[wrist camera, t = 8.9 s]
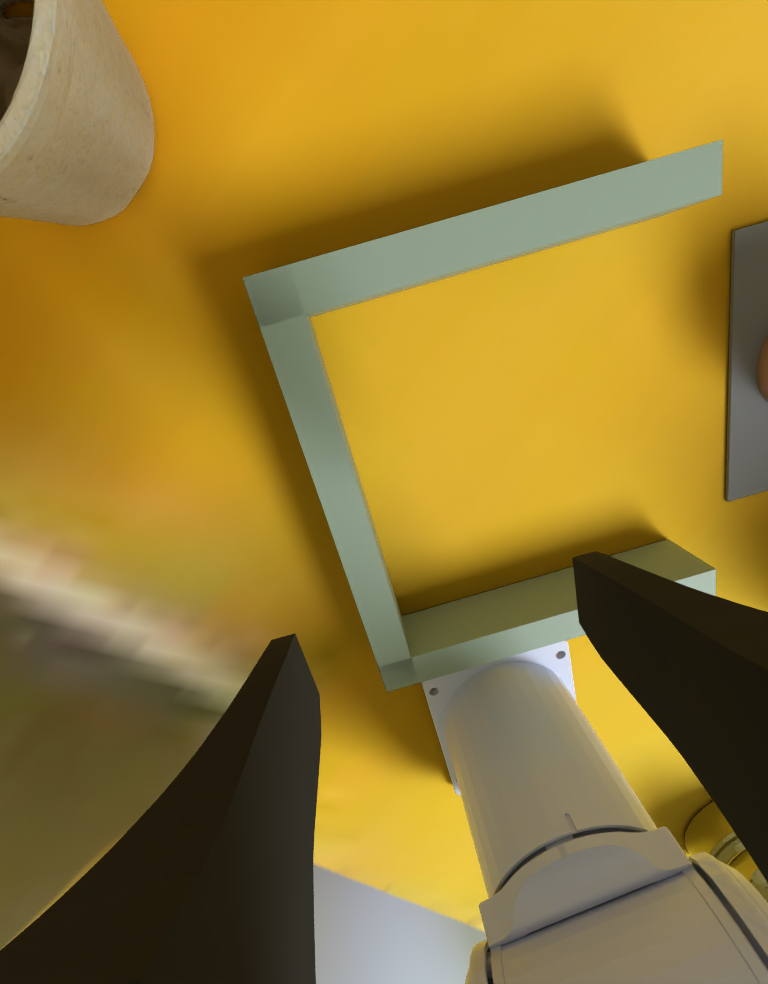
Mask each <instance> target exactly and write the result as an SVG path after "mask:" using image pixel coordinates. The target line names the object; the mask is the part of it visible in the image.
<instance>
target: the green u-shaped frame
mask: <svg viewBox="0 0 768 984" xmlns="http://www.w3.org/2000/svg"><path fill="white" fill-rule="evenodd" d="M722 161H723V140H719V141H716V142H712V143H709V144H705V145H702V146H698V147H695V148H692V149H688V150H685V151H681V152H678V153H674V154H671V155H667V156H664V157H660V158H657V159H653V160H650V161H646V162H643V163H639V164H636V165H632V166H629V167H625V168H622V169H619V170H615V171H612V172H608V173H605V174H601V175H598V176H594V177H591V178H587V179H584V180H580V181H577V182H573V183H570V184H566V185H563V186H559V187H556V188H553V189H549V190H546V191H542V192H539V193H535V194H532V195H528V196H525V197H521V198H518V199H514V200H511V201H507V202H504V203H500V204H497V205H493V206H490V207H486V208H483V209H480V210H476V211H473V212H469V213H466V214H462V215H459V216H455V217H452V218H448V219H445V220H441V221H438V222H434V223H431V224H427V225H424V226H420V227H417V228H414V229H410V230H407V231H403V232H400V233H396V234H393V235H389V236H386V237H382V238H379V239H375V240H372V241H368V242H365V243H361V244H358V245H354V246H351V247H347V248H344V249H341V250H337V251H334V252H330V253H327V254H323V255H320V256H316V257H313V258H309V259H306V260H302V261H299V262H295V263H292V264H288V265H285V266H281V267H278V268H274V269H271V270H268V271H264V272H261V273H257V274H254V275H250V276H247V277H243V281H244V284H245V287H246V290H247V293H248V296H249V298H250V301H251V304H252V307H253V310H254V313H255V316H256V318H257V321H258V324H259V327H260V330H261V333H262V336H263V338H264V341H265V344H266V347H267V350H268V353H269V356H270V358H271V361H272V364H273V367H274V370H275V373H276V376H277V379H278V381H279V384H280V387H281V390H282V393H283V396H284V399H285V401H286V404H287V407H288V410H289V413H290V416H291V419H292V421H293V424H294V427H295V430H296V433H297V436H298V439H299V442H300V444H301V447H302V450H303V453H304V456H305V459H306V462H307V464H308V467H309V470H310V473H311V476H312V479H313V482H314V484H315V487H316V490H317V493H318V496H319V499H320V502H321V505H322V507H323V510H324V513H325V516H326V519H327V522H328V525H329V527H330V530H331V533H332V536H333V539H334V542H335V545H336V547H337V550H338V553H339V556H340V559H341V562H342V565H343V568H344V570H345V573H346V576H347V579H348V582H349V585H350V588H351V590H352V593H353V596H354V599H355V602H356V605H357V608H358V610H359V613H360V616H361V619H362V622H363V625H364V628H365V631H366V633H367V636H368V639H369V642H370V645H371V648H372V651H373V653H374V656H375V659H376V662H377V665H378V668H379V671H380V673H381V676H382V679H383V682H384V685H385V688H386V691H387V692H390V691H393V690H397V689H400V688H403V687H407V686H410V685H414V684H417V683H421V682H424V681H428V680H431V679H434V678H438V677H441V676H445V675H448V674H452V673H455V672H459V671H462V670H465V669H469V668H472V667H476V666H479V665H483V664H486V663H490V662H493V661H496V660H500V659H503V658H507V657H510V656H514V655H517V654H521V653H524V652H527V651H531V650H534V649H538V648H541V647H545V646H548V645H552V644H555V643H558V642H562V641H565V640H569V639H572V638H576V637H579V636H583V635H586V633H585V632H584V630H583V628H582V627H581V625H580V624H579V618H578V608H577V599H576V589H575V579H574V569H573V567H570V568H566V569H563V570H560V571H556V572H553V573H549V574H546V575H542V576H539V577H535V578H532V579H529V580H525V581H522V582H518V583H515V584H511V585H508V586H504V587H501V588H498V589H494V590H491V591H487V592H484V593H480V594H477V595H473V596H470V597H466V598H463V599H460V600H456V601H453V602H449V603H446V604H442V605H439V606H435V607H432V608H429V609H425V610H422V611H418V612H415V613H411V614H408V615H404V616H401V613H400V610H399V606H398V603H397V600H396V597H395V593H394V590H393V587H392V584H391V580H390V577H389V574H388V570H387V567H386V564H385V561H384V557H383V554H382V551H381V548H380V544H379V541H378V538H377V535H376V531H375V528H374V525H373V522H372V518H371V515H370V512H369V509H368V505H367V502H366V499H365V496H364V492H363V489H362V486H361V483H360V479H359V476H358V473H357V469H356V466H355V463H354V460H353V456H352V453H351V450H350V447H349V443H348V440H347V437H346V434H345V430H344V427H343V424H342V421H341V417H340V414H339V411H338V408H337V404H336V401H335V398H334V395H333V391H332V388H331V385H330V382H329V378H328V375H327V372H326V369H325V365H324V362H323V359H322V355H321V352H320V349H319V346H318V342H317V339H316V336H315V333H314V329H313V326H312V323H311V320H310V317H312V316H316V315H319V314H322V313H326V312H329V311H333V310H336V309H340V308H343V307H347V306H350V305H354V304H357V303H361V302H364V301H368V300H371V299H375V298H378V297H381V296H385V295H388V294H392V293H395V292H399V291H402V290H406V289H409V288H413V287H416V286H420V285H423V284H427V283H430V282H434V281H437V280H440V279H444V278H447V277H451V276H454V275H458V274H461V273H465V272H468V271H472V270H475V269H479V268H482V267H486V266H489V265H493V264H496V263H499V262H503V261H506V260H510V259H513V258H517V257H520V256H524V255H527V254H531V253H534V252H538V251H541V250H545V249H548V248H552V247H555V246H559V245H562V244H565V243H569V242H572V241H576V240H579V239H583V238H586V237H590V236H593V235H597V234H600V233H604V232H607V231H611V230H614V229H618V228H621V227H624V226H628V225H631V224H635V223H638V222H642V221H645V220H649V219H652V218H656V217H659V216H662V215H665V214H668V213H671V212H673V211H676V210H679V209H682V208H685V207H688V206H691V205H694V204H696V203H699V202H702V201H705V200H708V199H711V198H714V197H717V196H719V195H722ZM610 557H613V558H616V559H618V560H621V561H623V562H626V563H628V564H631V565H633V566H636V567H638V568H641V569H643V570H646V571H648V572H651V573H654V574H656V575H659V576H661V577H664V578H666V579H669V580H672V581H674V582H677V583H680V584H682V585H685V586H688V587H691V588H693V589H696V590H699V591H702V592H705V593H708V594H711V595H714V596H716V569H715V568H713V567H712V566H710V565H708V564H707V563H705V562H704V561H702V560H700V559H699V558H697V557H696V556H694V555H693V554H691V553H689V552H688V551H686V550H685V549H683V548H681V547H680V546H678V545H677V544H675V543H674V542H672V541H670V540H669V539H667V540H663V541H660V542H656V543H653V544H649V545H646V546H642V547H639V548H635V549H632V550H629V551H625V552H622V553H618V554H615V555H611V556H610Z"/></svg>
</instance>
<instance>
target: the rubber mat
mask: <svg viewBox="0 0 768 984" xmlns="http://www.w3.org/2000/svg"><path fill="white" fill-rule="evenodd" d="M767 335H768V221H766V222H762V223H759V224H755V225H752V226H748V227H745V228H741V229H738V230H734V231H732V254H731V296H730V338H729V380H728V422H727V464H726V501H728V502H729V501H732V500H736V499H739V498H743V497H746V496H750V495H753V494H757V493H760V492H763V491H767V490H768V402H767V401H766V400H765V398H764V397H763V396H762V394H761V392H760V390H759V387H758V383H757V377H756V368H757V361H758V356H759V353H760V350H761V347H762V345H763V342H764V340H765V338H766V336H767Z"/></svg>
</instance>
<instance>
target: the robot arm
mask: <svg viewBox="0 0 768 984" xmlns="http://www.w3.org/2000/svg"><path fill="white" fill-rule="evenodd" d="M572 559H573V569H574V579H575V589H576V599H577V608H578V618H579V624H580V625H581V627H582V628H583V630H584V632H585V633H586V635H587V637H588V638H589V640H590V641H591V643H592V644H593V646H594V647H595V649H596V650H597V652H598V653H599V655H600V656H601V658H602V659H603V660H604V662H605V663H606V664H607V665H608V667H609V668H610V669H611V670H612V671H613V673H614V674H615V675H616V676H617V677H618V679H619V680H620V681H621V682H622V684H623V685H624V686H625V687H626V688H627V690H628V691H629V692H630V693H631V694H632V695H633V697H634V698H635V699H636V700H637V701H638V703H639V704H640V705H641V706H642V707H643V709H644V710H645V711H646V712H647V713H648V715H649V716H650V717H651V718H652V719H653V721H654V722H655V723H656V724H657V725H658V726H659V728H660V729H661V730H662V731H663V732H664V734H665V735H666V736H667V737H668V738H669V740H670V741H671V742H672V744H673V745H674V746H675V748H676V749H677V750H678V751H679V753H680V754H681V755H682V757H683V758H684V759H685V761H686V762H687V764H688V765H689V766H690V768H691V769H692V771H693V772H694V774H695V775H696V776H697V778H698V779H699V781H700V782H701V784H702V785H703V786H704V788H705V789H706V791H707V792H708V794H709V795H710V797H711V798H712V799H713V801H714V802H715V804H716V805H717V807H718V808H719V810H720V811H721V813H722V814H723V816H724V817H725V819H726V820H727V822H728V823H729V825H730V826H731V828H732V829H733V831H734V832H735V834H736V835H737V837H738V838H739V840H740V841H741V843H742V844H743V846H744V847H745V849H746V850H747V852H748V853H749V855H750V856H751V858H752V859H753V861H754V862H755V864H756V865H757V867H758V869H759V870H760V872H761V873H762V875H763V876H764V878H765V880H766V881H767V883H768V612H765V611H762V610H758V609H755V608H751V607H748V606H745V605H741V604H738V603H735V602H732V601H729V600H726V599H723V598H720V597H717V596H714V595H711V594H708V593H705V592H702V591H699V590H696V589H693V588H691V587H688V586H685V585H682V584H680V583H677V582H674V581H672V580H669V579H666V578H664V577H661V576H659V575H656V574H654V573H651V572H648V571H646V570H643V569H641V568H638V567H636V566H633V565H631V564H628V563H626V562H623V561H621V560H618V559H616V558H613V557H610V556H608V555H605V554H602V553H599V552H592V553H588V554H585V555H581V556H577V557H574V558H572ZM559 651H561V652H560V653H558V652H559ZM557 653H558V654H557ZM422 686H423V689H424V693H425V696H426V699H427V702H428V706H429V709H430V712H431V715H432V719H433V722H434V725H435V728H436V732H437V735H438V738H439V741H440V745H441V748H442V751H443V754H444V758H445V761H446V764H447V767H448V771H449V774H450V777H451V780H452V784H453V787H454V790H455V793H456V794H458V795H461V797H462V800H463V804H464V808H465V812H466V815H467V819H468V823H469V827H470V830H471V834H472V838H473V841H474V845H475V849H476V853H477V856H478V860H479V864H480V867H481V871H482V875H483V879H484V882H485V886H486V890H487V893H488V897H489V899H487V900H485V901H483V902H481V903H480V904H479V909H480V913H481V917H482V921H483V925H484V929H485V933H486V937H487V940H485V941H482V942H480V943H478V944H476V945H475V946H474V947H473V949H472V953H471V956H470V964H469V969H468V973H467V976H466V982H465V984H768V903H767V901H766V900H765V899H764V898H763V897H762V895H761V894H760V893H759V892H758V891H757V890H756V889H755V887H754V886H753V885H752V884H751V883H750V882H749V881H748V880H747V879H746V878H745V877H744V876H743V875H742V874H741V873H740V872H738V871H737V870H736V869H734V868H733V867H731V866H729V865H727V864H725V863H723V862H721V861H719V860H717V859H716V858H715V857H713V856H712V855H710V854H708V853H706V852H699V853H697V854H694V855H692V856H689V859H688V857H687V856H686V854H685V853H684V851H683V850H682V848H681V847H680V845H679V844H678V842H677V841H676V839H675V838H674V836H673V835H672V833H671V832H670V830H669V829H668V828H667V827H661V828H657V827H656V825H655V824H654V822H653V821H652V819H651V817H650V816H649V814H648V813H647V811H646V810H645V808H644V807H643V805H642V804H641V802H640V800H639V799H638V797H637V796H636V794H635V793H634V791H633V790H632V788H631V786H630V785H629V783H628V782H627V780H626V779H625V777H624V776H623V774H622V772H621V771H620V769H619V768H618V766H617V765H616V763H615V762H614V760H613V758H612V757H611V755H610V754H609V752H608V751H607V749H606V748H605V746H604V745H603V743H602V741H601V740H600V738H599V737H598V735H597V734H596V732H595V731H594V729H593V727H592V726H591V724H590V723H589V721H588V720H587V718H586V717H585V715H584V713H583V712H582V710H581V709H580V707H579V706H578V704H577V703H576V695H575V688H574V681H573V674H572V667H571V660H570V652H569V645H568V642H567V641H566V640H565V641H562V642H558V643H555V644H552V645H548V646H545V647H541V648H538V649H534V650H531V651H527V652H524V653H521V654H517V655H514V656H510V657H507V658H503V659H500V660H496V661H493V662H490V663H486V664H483V665H479V666H476V667H472V668H469V669H465V670H462V671H459V672H455V673H452V674H448V675H445V676H441V677H438V678H434V679H431V680H428V681H424V682H422ZM432 688H436V689H434V690H430V689H432ZM320 748H321V714H320V696H319V692H318V689H317V687H316V684H315V682H314V679H313V677H312V674H311V672H310V669H309V667H308V664H307V662H306V659H305V657H304V654H303V652H302V649H301V647H300V644H299V642H298V639H297V637H296V634H292V635H288V636H285V637H281V638H277V639H274V640H271V642H270V643H269V645H268V646H267V648H266V650H265V651H264V653H263V654H262V656H261V658H260V659H259V661H258V662H257V664H256V666H255V667H254V669H253V670H252V672H251V673H250V675H249V677H248V678H247V680H246V681H245V683H244V685H243V686H242V688H241V689H240V691H239V692H238V694H237V695H236V697H235V698H234V700H233V701H232V703H231V705H230V706H229V708H228V709H227V710H226V712H225V713H224V715H223V716H222V717H221V719H220V720H219V722H218V723H217V724H216V726H215V727H214V729H213V730H212V731H211V733H210V734H209V736H208V737H207V739H206V740H205V741H204V743H203V744H202V746H201V747H200V748H199V749H198V751H197V752H196V753H195V755H194V756H193V757H192V758H191V760H190V761H189V762H188V764H187V765H186V766H185V767H184V769H183V770H182V771H181V772H180V773H179V775H178V776H177V777H176V778H175V779H174V780H173V782H172V783H171V784H170V785H169V786H168V788H167V789H166V790H165V791H164V792H163V794H162V795H161V796H160V797H159V798H158V799H157V800H156V801H155V803H154V804H153V805H152V806H151V807H150V808H149V809H148V810H147V811H146V812H145V813H144V814H143V815H142V816H141V818H140V819H139V820H138V821H137V822H136V823H135V824H134V825H133V826H132V827H131V828H130V829H129V830H128V832H127V833H126V834H125V835H124V836H123V837H122V838H121V839H120V840H119V841H118V842H117V843H116V844H115V845H114V846H113V847H112V848H111V849H110V851H109V852H108V853H106V854H105V855H104V856H103V857H102V858H101V859H100V860H99V861H98V862H97V863H96V864H95V865H94V866H93V867H92V868H91V869H90V870H89V871H88V872H87V873H86V874H85V875H84V876H83V877H82V878H81V879H80V880H79V881H78V882H77V883H76V884H75V885H73V886H72V887H71V888H70V889H69V890H68V891H67V892H66V893H65V894H64V895H63V896H62V897H61V898H60V899H59V900H57V901H56V902H55V903H54V904H53V905H52V906H51V907H50V908H49V909H48V910H46V911H45V912H44V913H43V914H42V915H41V916H40V917H39V918H38V919H36V920H35V921H34V922H33V923H32V924H31V925H30V926H28V927H27V928H26V929H25V930H24V931H23V932H21V933H20V934H19V935H18V936H17V937H16V938H15V939H13V940H12V941H11V942H10V943H9V944H8V945H6V946H5V947H4V948H3V949H2V950H1V951H0V984H316V977H315V942H314V895H313V893H314V892H313V850H314V829H315V816H316V803H317V789H318V776H319V762H320Z"/></svg>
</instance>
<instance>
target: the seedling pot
mask: <svg viewBox="0 0 768 984" xmlns="http://www.w3.org/2000/svg"><path fill="white" fill-rule="evenodd" d="M756 377H757V383H758V387H759V390H760V392H761V394H762V396H763V397H764V398H765V400H766V401H767V402H768V335H767V336H766V338H765V340H764V342H763V345H762V347H761V350H760V353H759V356H758V361H757V368H756Z"/></svg>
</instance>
